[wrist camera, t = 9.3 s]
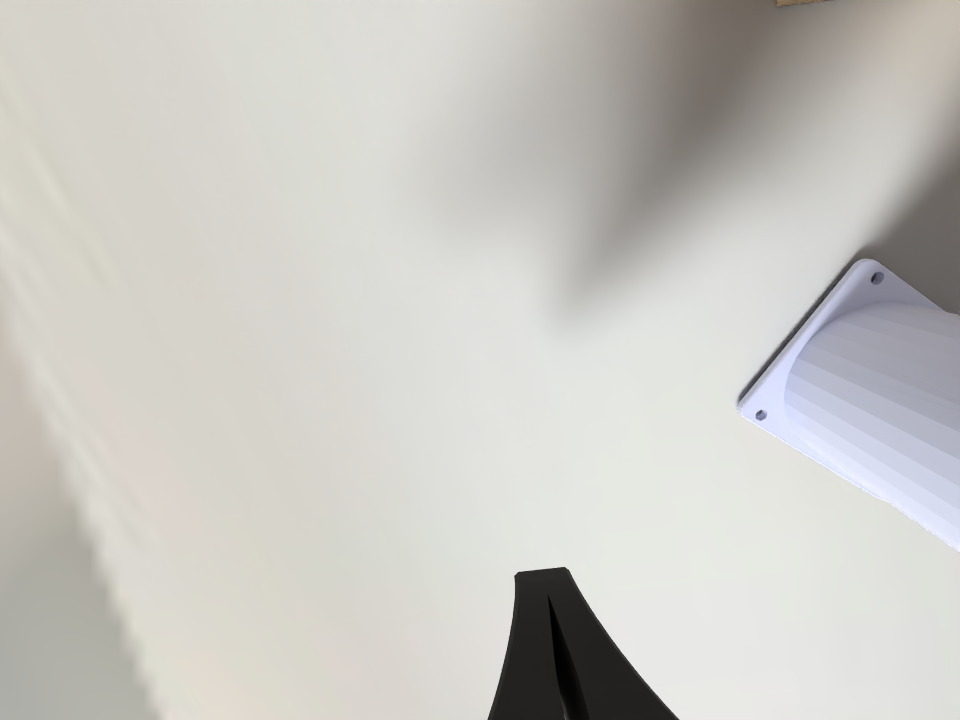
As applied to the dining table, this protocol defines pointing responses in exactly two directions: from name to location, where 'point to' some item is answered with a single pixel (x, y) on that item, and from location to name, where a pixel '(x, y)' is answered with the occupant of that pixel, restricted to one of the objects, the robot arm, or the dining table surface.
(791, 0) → the wooden box
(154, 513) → the dining table surface
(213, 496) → the dining table surface
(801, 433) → the robot arm
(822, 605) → the dining table surface
